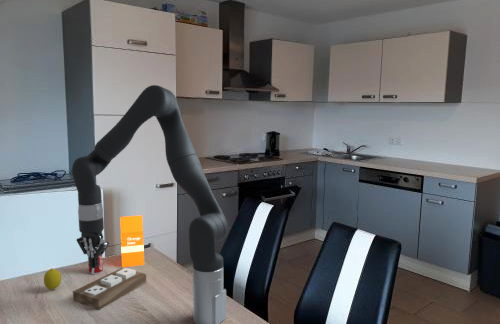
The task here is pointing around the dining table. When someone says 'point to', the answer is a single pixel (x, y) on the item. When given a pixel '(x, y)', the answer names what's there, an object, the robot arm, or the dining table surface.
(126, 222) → the orange juice
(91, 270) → the soda can
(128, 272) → the button one
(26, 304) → the dining table surface
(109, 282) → the button two
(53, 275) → the lemon
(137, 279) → the button panel
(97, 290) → the button three
